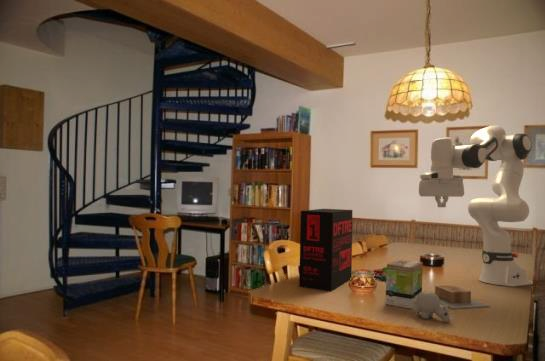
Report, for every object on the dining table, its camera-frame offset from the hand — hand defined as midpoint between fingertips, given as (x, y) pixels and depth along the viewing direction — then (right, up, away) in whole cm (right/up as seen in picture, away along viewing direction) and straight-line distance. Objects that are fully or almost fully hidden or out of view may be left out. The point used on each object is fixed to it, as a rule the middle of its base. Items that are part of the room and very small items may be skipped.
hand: (441, 207), depth 173 cm
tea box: (-24, -34, -24) cm, 48 cm away
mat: (-3, -34, -23) cm, 41 cm away
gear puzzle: (-15, -36, +24) cm, 45 cm away
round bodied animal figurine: (-21, -34, -43) cm, 58 cm away
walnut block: (-5, -32, -15) cm, 35 cm away
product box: (-49, -34, +5) cm, 60 cm away
